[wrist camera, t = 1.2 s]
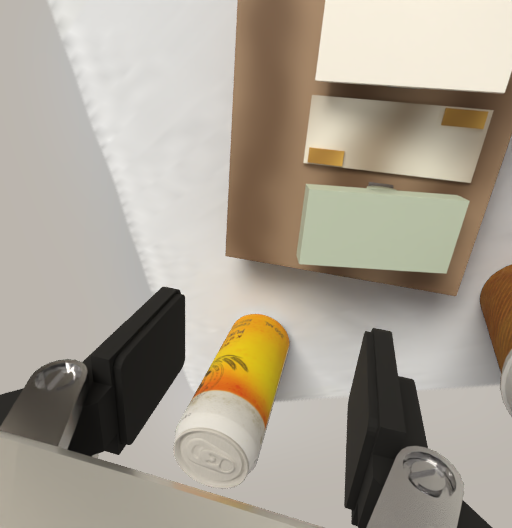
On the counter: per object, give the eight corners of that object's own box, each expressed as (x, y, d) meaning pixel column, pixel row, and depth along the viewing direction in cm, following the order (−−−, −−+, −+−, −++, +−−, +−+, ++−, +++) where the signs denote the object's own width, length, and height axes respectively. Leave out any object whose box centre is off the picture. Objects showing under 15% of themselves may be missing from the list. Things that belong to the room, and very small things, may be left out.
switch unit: (538, -17, 23) (577, -43, 19) (445, 274, 31) (458, 300, 27) (255, -24, 27) (236, -47, 22) (238, 240, 35) (222, 258, 31)
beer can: (243, 300, 37) (179, 411, 24) (299, 325, 37) (266, 452, 23) (226, 345, 40) (159, 467, 27) (278, 369, 40) (237, 505, 26)
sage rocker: (450, 191, 25) (469, 201, 23) (430, 258, 28) (446, 273, 25) (303, 180, 25) (309, 189, 23) (294, 249, 27) (299, 264, 25)
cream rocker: (537, -17, 18) (544, -33, 16) (502, 94, 21) (504, 92, 19) (341, -9, 23) (328, -21, 21) (328, 82, 25) (315, 80, 23)
